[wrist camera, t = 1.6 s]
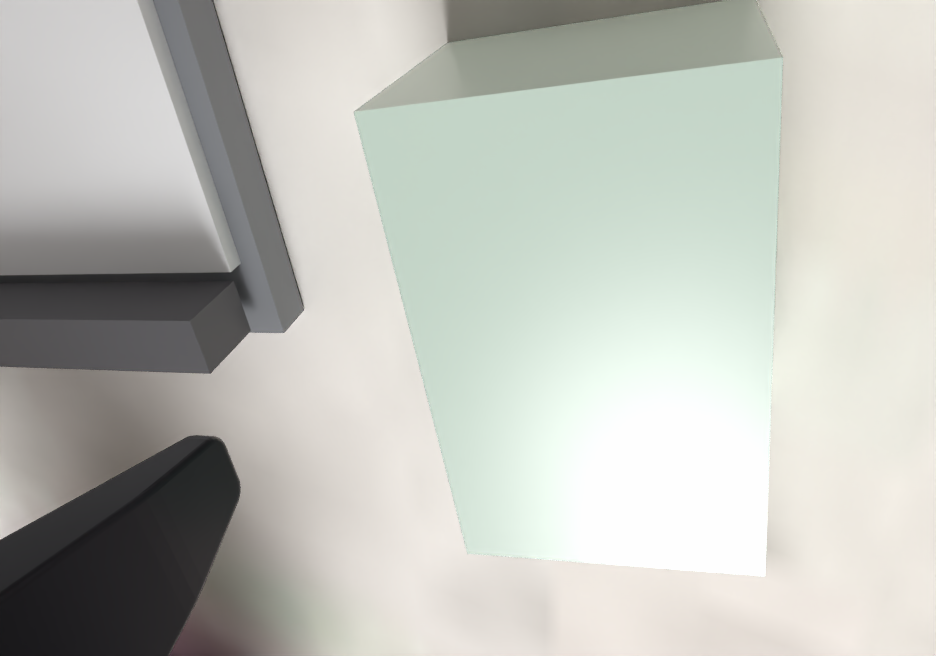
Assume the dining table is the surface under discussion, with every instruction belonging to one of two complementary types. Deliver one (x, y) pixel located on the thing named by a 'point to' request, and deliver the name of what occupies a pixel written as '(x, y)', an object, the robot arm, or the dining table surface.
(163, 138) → the rail board
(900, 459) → the dining table surface
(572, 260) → the block
